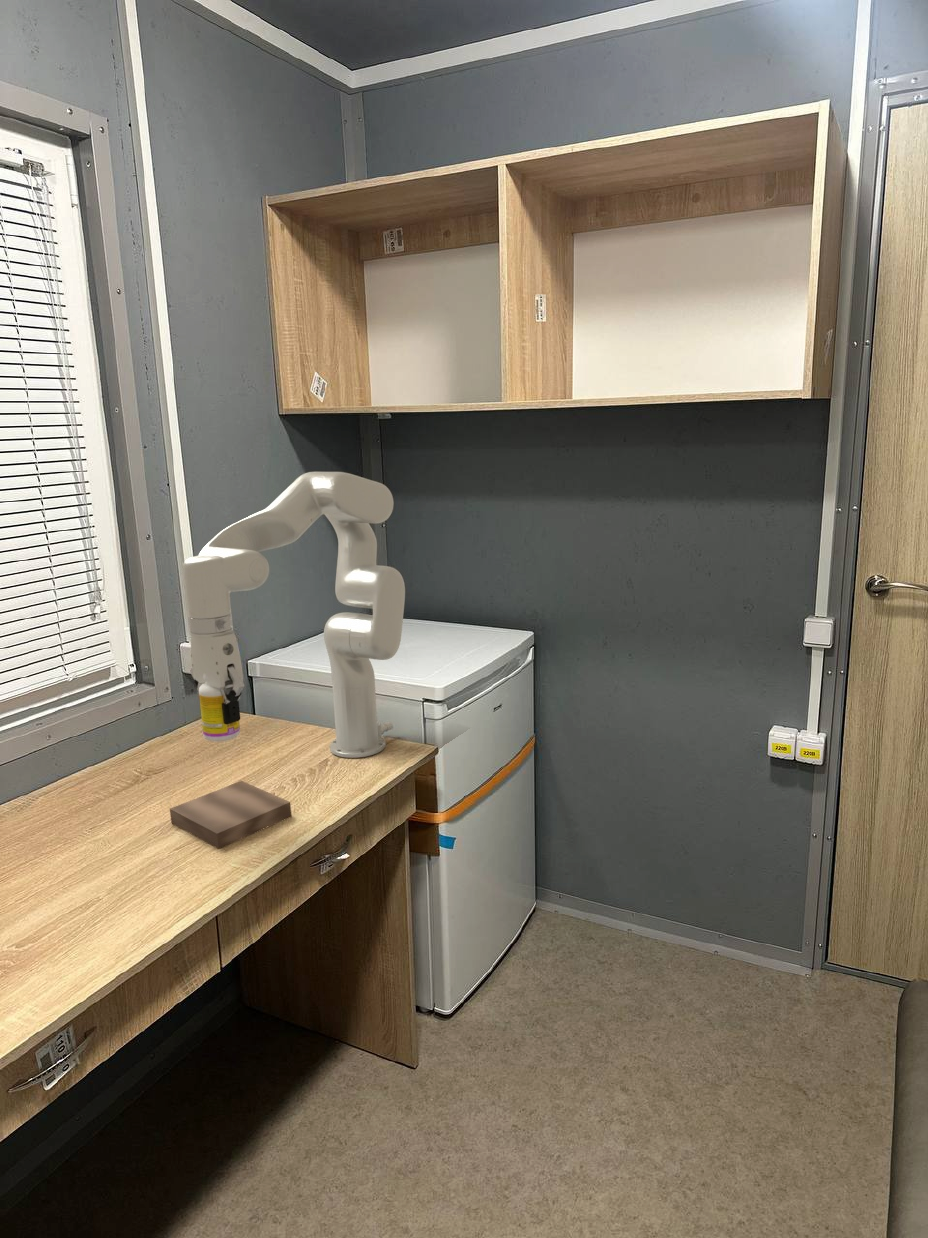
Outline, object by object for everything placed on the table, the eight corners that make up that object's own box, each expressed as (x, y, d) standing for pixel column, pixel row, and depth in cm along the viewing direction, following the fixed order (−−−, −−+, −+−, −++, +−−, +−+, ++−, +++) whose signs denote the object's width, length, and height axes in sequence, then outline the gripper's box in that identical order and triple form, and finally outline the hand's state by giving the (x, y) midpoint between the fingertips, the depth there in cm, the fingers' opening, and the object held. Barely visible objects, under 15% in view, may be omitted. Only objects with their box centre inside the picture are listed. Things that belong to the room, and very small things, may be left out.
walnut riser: (242, 794, 177) (241, 780, 176) (291, 816, 166) (290, 802, 166) (171, 823, 165) (169, 808, 165) (218, 849, 155) (217, 833, 154)
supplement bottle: (230, 743, 158) (223, 676, 155) (197, 742, 159) (189, 674, 156) (246, 730, 164) (240, 665, 161) (214, 729, 166) (207, 664, 163)
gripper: (256, 626, 154) (265, 722, 158) (202, 614, 165) (212, 703, 169) (219, 635, 148) (230, 734, 153) (166, 621, 160) (177, 714, 164)
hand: (220, 717), depth 161 cm, fingers closed on supplement bottle, 6 cm apart
